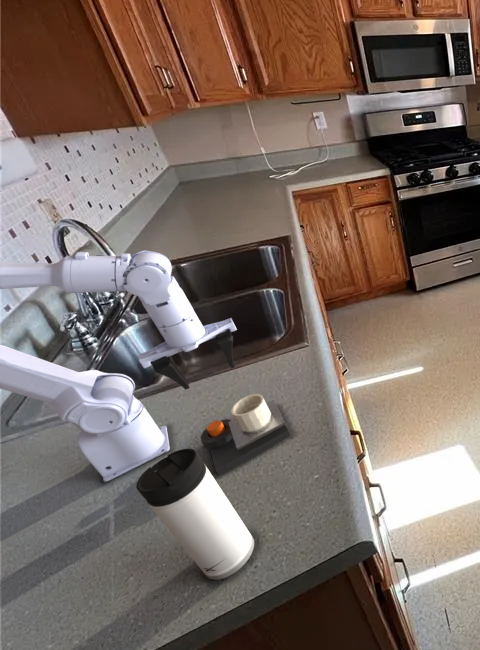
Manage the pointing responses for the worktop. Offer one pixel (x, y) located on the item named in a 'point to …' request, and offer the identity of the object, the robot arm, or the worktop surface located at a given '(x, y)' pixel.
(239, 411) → the cream hollow cylinder
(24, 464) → the worktop surface
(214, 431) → the tare button
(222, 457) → the scale
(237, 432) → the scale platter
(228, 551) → the travel mug
